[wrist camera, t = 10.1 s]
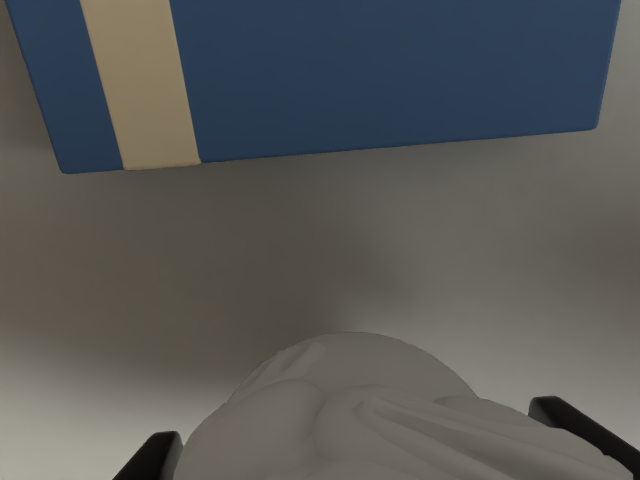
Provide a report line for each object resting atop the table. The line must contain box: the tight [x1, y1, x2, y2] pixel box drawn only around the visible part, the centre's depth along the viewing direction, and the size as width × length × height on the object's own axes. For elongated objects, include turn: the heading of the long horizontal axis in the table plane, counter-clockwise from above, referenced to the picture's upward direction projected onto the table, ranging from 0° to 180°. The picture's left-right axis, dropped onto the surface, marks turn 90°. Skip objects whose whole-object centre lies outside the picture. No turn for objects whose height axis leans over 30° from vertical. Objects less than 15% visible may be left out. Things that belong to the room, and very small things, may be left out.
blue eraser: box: [5, 0, 621, 174], centre depth 7 cm, size 8×4×2 cm, turn 94°
